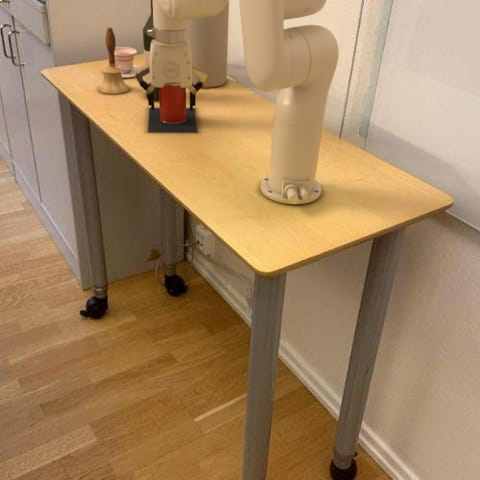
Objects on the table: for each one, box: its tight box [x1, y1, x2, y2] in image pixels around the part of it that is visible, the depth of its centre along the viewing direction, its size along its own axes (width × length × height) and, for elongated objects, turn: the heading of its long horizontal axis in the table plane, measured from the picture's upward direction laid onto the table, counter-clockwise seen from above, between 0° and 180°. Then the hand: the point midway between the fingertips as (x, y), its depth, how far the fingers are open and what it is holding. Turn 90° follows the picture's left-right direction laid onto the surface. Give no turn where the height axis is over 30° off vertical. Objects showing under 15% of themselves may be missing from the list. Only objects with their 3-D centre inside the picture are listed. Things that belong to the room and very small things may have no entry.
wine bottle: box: [142, 0, 159, 102], centre depth 151 cm, size 8×8×30 cm
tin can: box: [158, 83, 187, 125], centre depth 145 cm, size 7×7×10 cm
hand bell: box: [98, 27, 130, 95], centre depth 158 cm, size 8×8×16 cm
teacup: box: [103, 46, 144, 79], centre depth 173 cm, size 12×12×6 cm
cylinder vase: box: [186, 0, 230, 89], centre depth 164 cm, size 12×12×25 cm
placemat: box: [147, 107, 199, 134], centre depth 148 cm, size 16×12×1 cm
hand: (172, 108), depth 146 cm, fingers open, 9 cm apart
